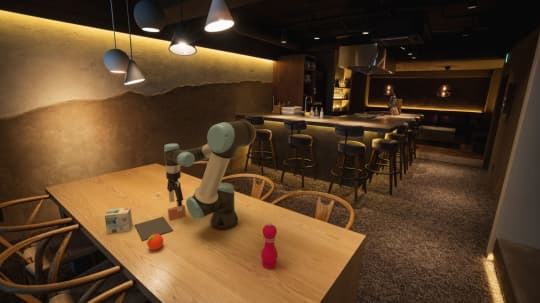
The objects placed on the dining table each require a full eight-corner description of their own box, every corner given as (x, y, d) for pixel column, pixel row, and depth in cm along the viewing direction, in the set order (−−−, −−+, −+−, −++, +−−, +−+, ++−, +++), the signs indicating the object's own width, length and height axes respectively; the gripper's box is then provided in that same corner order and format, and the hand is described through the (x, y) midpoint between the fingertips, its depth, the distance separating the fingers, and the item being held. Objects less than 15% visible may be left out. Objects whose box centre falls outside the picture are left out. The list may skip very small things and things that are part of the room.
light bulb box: (106, 234, 127) (103, 215, 124) (111, 227, 133) (108, 209, 130) (130, 231, 130) (127, 212, 127) (133, 224, 136) (130, 207, 133)
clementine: (152, 255, 111) (150, 241, 109) (142, 250, 114) (140, 237, 112) (167, 246, 118) (165, 233, 116) (157, 242, 121) (156, 229, 119)
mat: (173, 231, 130) (173, 230, 130) (142, 241, 121) (141, 240, 121) (163, 217, 144) (163, 216, 144) (134, 225, 135) (134, 224, 135)
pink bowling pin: (277, 258, 110) (278, 217, 105) (278, 269, 103) (279, 227, 98) (260, 258, 110) (261, 218, 105) (260, 270, 103) (261, 227, 98)
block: (185, 216, 146) (184, 206, 144) (170, 220, 141) (169, 210, 139) (184, 214, 148) (183, 204, 146) (168, 219, 142) (167, 208, 141)
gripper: (188, 176, 130) (190, 212, 136) (172, 164, 149) (175, 196, 154) (173, 179, 126) (176, 216, 131) (159, 166, 145) (162, 199, 150)
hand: (175, 206), depth 143 cm, fingers open, 13 cm apart
